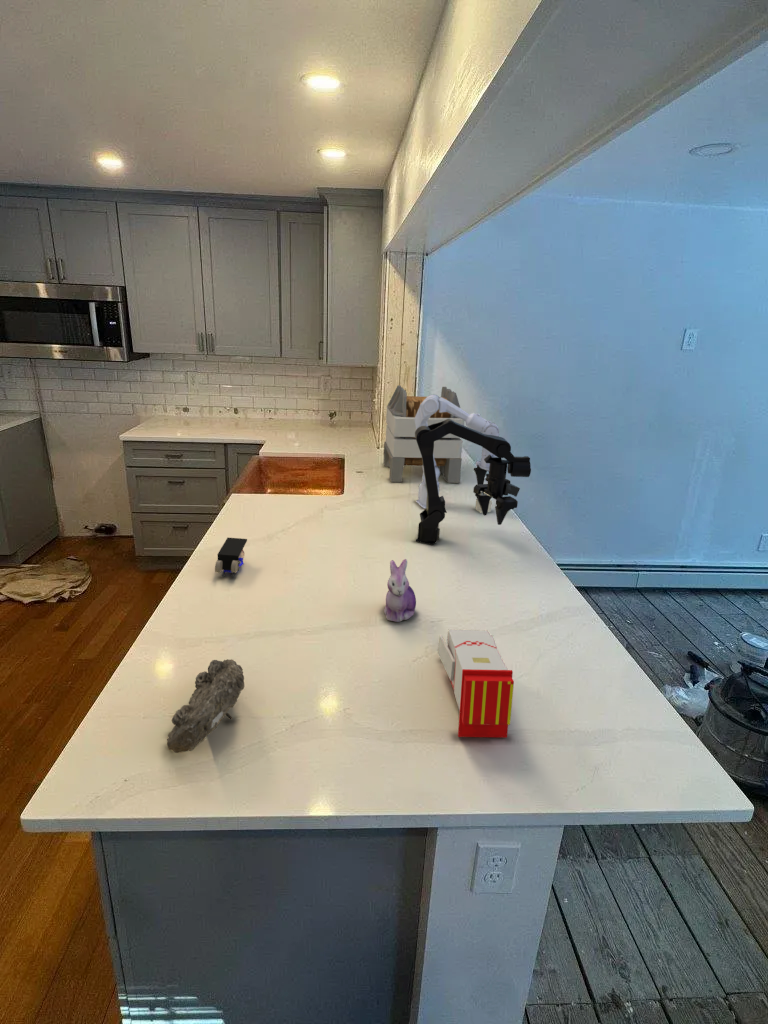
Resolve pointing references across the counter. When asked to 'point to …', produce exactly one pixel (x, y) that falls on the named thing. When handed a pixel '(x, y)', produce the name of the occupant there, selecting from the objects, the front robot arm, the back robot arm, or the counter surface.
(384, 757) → the counter surface
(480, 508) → the light grey cube-like block
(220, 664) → the fossil
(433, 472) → the front robot arm
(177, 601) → the counter surface
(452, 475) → the grey wooden planter box
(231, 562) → the figurine character
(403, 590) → the figurine
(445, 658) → the toy
